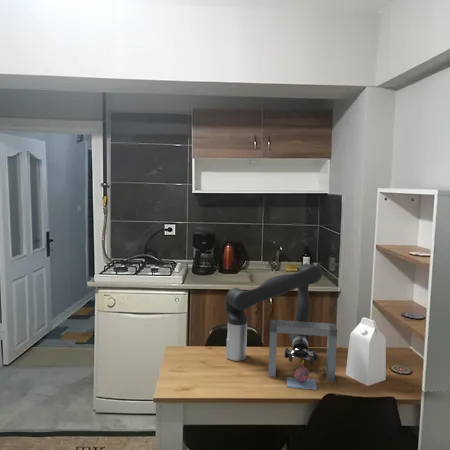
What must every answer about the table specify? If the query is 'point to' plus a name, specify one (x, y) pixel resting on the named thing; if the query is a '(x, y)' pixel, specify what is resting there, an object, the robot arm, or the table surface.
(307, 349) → the robot arm
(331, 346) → the grey arch
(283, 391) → the table surface
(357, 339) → the milk
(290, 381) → the pad
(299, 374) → the vegetable
